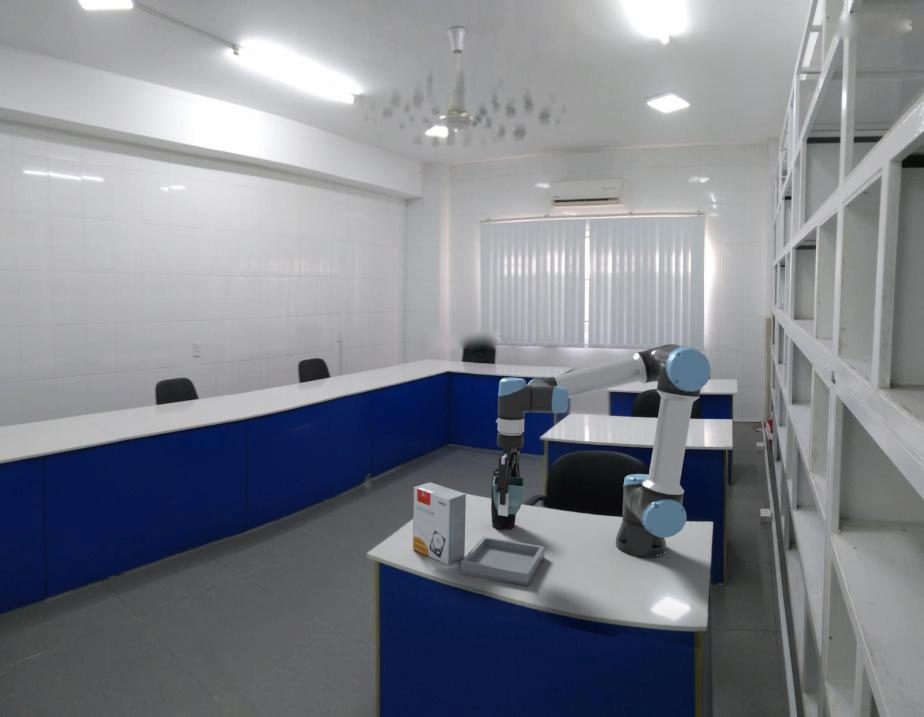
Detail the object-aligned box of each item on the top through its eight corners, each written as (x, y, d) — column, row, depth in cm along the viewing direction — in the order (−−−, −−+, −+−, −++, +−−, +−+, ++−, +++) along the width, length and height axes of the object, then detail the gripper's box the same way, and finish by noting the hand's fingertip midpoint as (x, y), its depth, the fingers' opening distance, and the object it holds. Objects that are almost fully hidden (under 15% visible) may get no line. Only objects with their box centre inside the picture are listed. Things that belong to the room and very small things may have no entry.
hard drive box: (411, 550, 182) (412, 486, 180) (429, 542, 188) (430, 481, 186) (448, 565, 171) (448, 498, 170) (465, 557, 177) (466, 492, 175)
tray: (544, 557, 178) (544, 546, 177) (527, 586, 160) (528, 574, 159) (483, 547, 185) (483, 536, 184) (460, 573, 167) (460, 561, 166)
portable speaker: (511, 520, 208) (512, 465, 206) (519, 530, 199) (521, 473, 197) (487, 521, 206) (488, 466, 204) (494, 532, 197) (496, 474, 195)
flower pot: (523, 506, 174) (524, 477, 173) (523, 517, 165) (524, 486, 164) (493, 505, 175) (494, 475, 174) (491, 515, 166) (492, 484, 165)
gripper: (508, 424, 179) (505, 496, 181) (485, 439, 159) (483, 520, 161) (532, 426, 177) (529, 499, 179) (512, 442, 156) (510, 524, 158)
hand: (507, 509), depth 170 cm, fingers closed on flower pot, 9 cm apart
